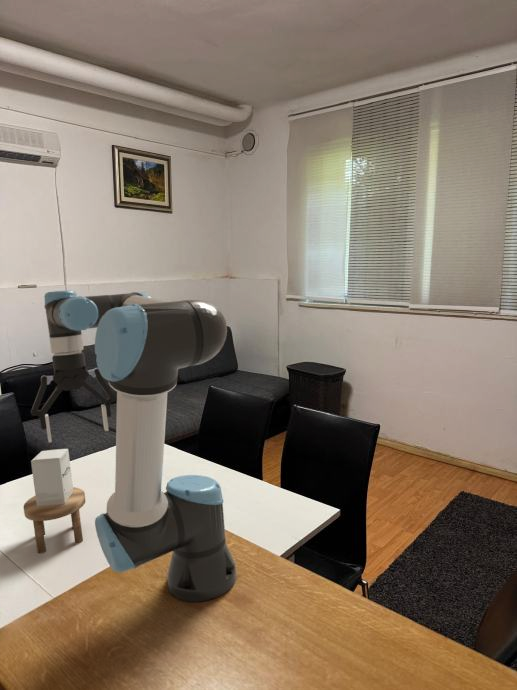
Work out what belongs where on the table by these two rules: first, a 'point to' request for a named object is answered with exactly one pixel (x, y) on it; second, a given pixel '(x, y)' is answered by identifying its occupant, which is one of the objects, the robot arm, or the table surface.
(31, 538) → the table surface
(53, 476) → the supplement box
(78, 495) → the stool
